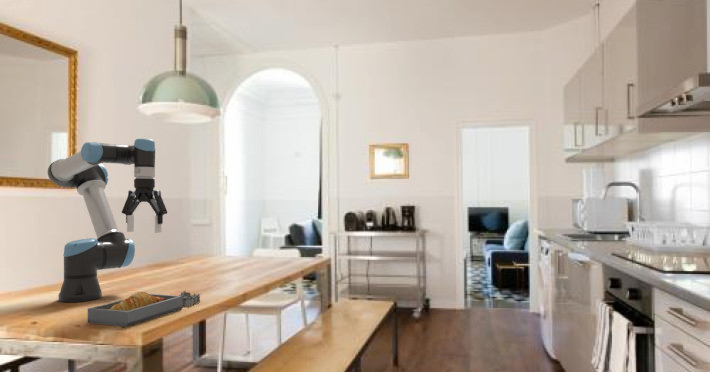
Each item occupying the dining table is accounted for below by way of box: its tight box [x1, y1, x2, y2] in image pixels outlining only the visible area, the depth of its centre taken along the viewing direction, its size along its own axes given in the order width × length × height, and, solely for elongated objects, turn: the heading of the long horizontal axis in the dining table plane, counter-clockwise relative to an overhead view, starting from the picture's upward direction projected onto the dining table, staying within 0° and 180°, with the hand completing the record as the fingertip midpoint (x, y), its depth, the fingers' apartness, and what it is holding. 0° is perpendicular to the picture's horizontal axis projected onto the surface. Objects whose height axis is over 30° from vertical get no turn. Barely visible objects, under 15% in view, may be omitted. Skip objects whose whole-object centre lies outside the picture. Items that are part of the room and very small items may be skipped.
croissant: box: [108, 291, 166, 311], centre depth 167 cm, size 21×10×8 cm, turn 146°
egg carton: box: [178, 290, 201, 307], centre depth 187 cm, size 11×8×4 cm
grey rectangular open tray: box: [87, 293, 183, 327], centre depth 167 cm, size 16×26×4 cm, turn 161°
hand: (144, 232), depth 193 cm, fingers open, 13 cm apart
